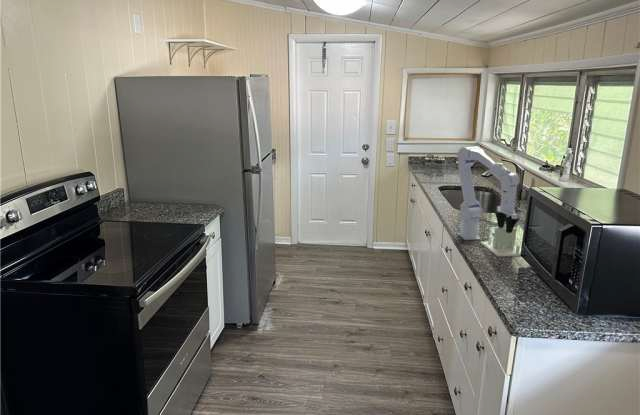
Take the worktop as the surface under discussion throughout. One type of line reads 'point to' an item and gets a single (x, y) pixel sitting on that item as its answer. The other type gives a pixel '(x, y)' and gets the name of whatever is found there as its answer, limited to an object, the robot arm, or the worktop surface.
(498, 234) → the pale green tall block
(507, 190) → the robot arm
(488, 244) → the rack
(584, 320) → the worktop surface
